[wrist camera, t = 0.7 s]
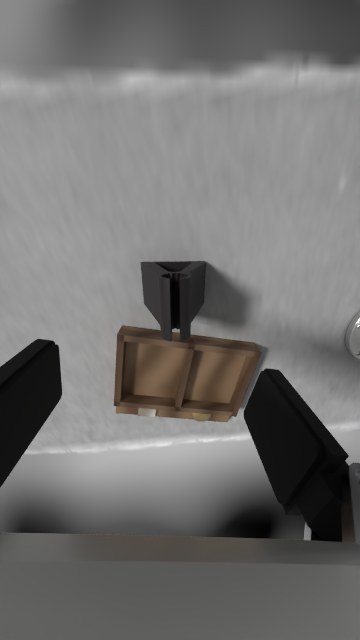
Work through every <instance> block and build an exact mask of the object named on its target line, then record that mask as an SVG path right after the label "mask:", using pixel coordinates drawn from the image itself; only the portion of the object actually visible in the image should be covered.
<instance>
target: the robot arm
mask: <svg viewBox="0 0 360 640" xmlns="http://www.w3.org/2000/svg"><path fill="white" fill-rule="evenodd" d="M345 344H346V347H347V349H348V351H349V353H351V354H352V355H353V356H354V357H356V358H357V359H359V360H360V311H359V312H358V314H357V315H356V316H355V317H354V318H353V320H352V321H351V323H350V325H349V327H348V329H347V332H346V337H345ZM61 396H62V384H61V371H60V357H59V346H58V345H55V342H54V341H51V340H43V339H37V340H35V341H34V342H32V343H31V344H30V345H28V346H27V347H26V348H25V349H23V350H22V351H21V352H19V353H18V354H17V355H15V356H14V357H13V358H11V359H10V360H9V361H8V362H6V363H5V364H4V365H2V366H1V367H0V487H1V486H2V484H3V483H4V481H5V480H6V479H7V477H8V476H9V474H10V473H11V471H12V470H13V468H14V467H15V465H16V464H17V462H18V461H19V459H20V458H21V456H22V455H23V454H24V452H25V451H26V449H27V448H28V446H29V445H30V443H31V442H32V440H33V439H34V437H35V436H36V434H37V433H38V431H39V430H40V429H41V427H42V426H43V424H44V423H45V421H46V420H47V418H48V417H49V415H50V414H51V412H52V411H53V409H54V408H55V406H56V405H57V404H58V402H59V400H60V398H61ZM244 419H245V421H246V424H247V426H248V429H249V431H250V434H251V436H252V439H253V441H254V444H255V446H256V449H257V451H258V454H259V456H260V459H261V461H262V463H263V466H264V469H265V471H266V473H267V476H268V478H269V481H270V483H271V486H272V488H273V491H274V493H275V496H276V498H277V500H278V502H279V503H281V504H282V506H283V508H284V510H285V513H286V515H299V516H300V515H301V514H302V515H303V518H304V520H305V533H304V540H286V539H284V540H283V539H254V538H220V537H181V536H180V537H179V536H139V535H137V536H135V535H93V534H92V535H90V534H36V533H0V640H360V463H352V464H351V465H350V466H348V464H347V463H346V462H345V460H346V459H347V458H348V454H347V453H346V452H345V451H344V449H343V448H342V447H341V446H340V445H339V443H338V442H337V441H336V440H335V438H334V437H333V436H332V435H331V433H330V432H329V431H328V430H327V428H326V427H325V426H324V425H323V423H322V422H321V421H320V420H319V419H318V417H317V416H316V415H315V414H314V412H313V411H312V410H311V409H310V407H309V406H308V405H307V404H306V403H305V401H304V400H303V399H302V398H301V396H300V395H299V394H298V393H297V391H296V390H295V389H294V388H293V386H292V385H291V384H290V383H289V382H288V380H287V379H286V378H285V377H284V375H283V374H282V373H281V372H280V371H279V370H275V369H265V370H264V371H262V372H261V373H260V375H259V377H258V379H257V382H256V384H255V386H254V389H253V391H252V393H251V396H250V398H249V401H248V403H247V405H246V408H245V410H244Z"/></svg>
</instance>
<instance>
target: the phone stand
mask: <svg viewBox="0 0 360 640" xmlns="http://www.w3.org/2000/svg"><path fill="white" fill-rule="evenodd" d="M205 266H206V262H205V261H185V262H141V271H142V283H143V295H144V304H145V305H146V307H147V308H148V309H149V311H150V312H151V313H152V315H153V316H154V317H155V319H156V320H157V321H158V323H159V324H160V326H161V337H162V338H163V339H164V340H166V341H170V342H171V341H172V329H174V328H176V329H180V341H184V340H187V339H188V338H189V337H190V327H191V322H192V321H193V319H194V317H195V316H196V314H197V313H198V311H199V309H200V308H201V306H202V305H203V303H204V288H205Z"/></svg>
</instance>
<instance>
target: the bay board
mask: <svg viewBox="0 0 360 640" xmlns="http://www.w3.org/2000/svg"><path fill="white" fill-rule="evenodd" d="M260 355H261V352H260V350H259V349H258V348H257V346H256V345H255V344H254V343H251V342H244V341H236V340H228V339H221V338H213V337H206V336H198V335H190V337H189V338H188V339H187V340H184V341H180V333H175V332H172V341H171V342H170V341H166V340H164V339H163V338H162V337H161V331H160V330H152V329H145V328H137V327H129V326H122V327H121V329H120V330H119V332H118V334H117V352H116V374H115V395H114V406H116V413H124V414H135V415H138V416H150V417H155V416H159V417H171V418H183V419H195V420H197V421H206V420H207V421H219V422H228V419H229V417H230V416H235V417H236V416H237V413H238V411H239V408H240V405H241V403H242V400H243V398H244V395H245V393H246V390H247V388H248V385H249V383H250V380H251V377H252V375H253V372H254V370H255V367H256V365H257V362H258V360H259V357H260Z"/></svg>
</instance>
